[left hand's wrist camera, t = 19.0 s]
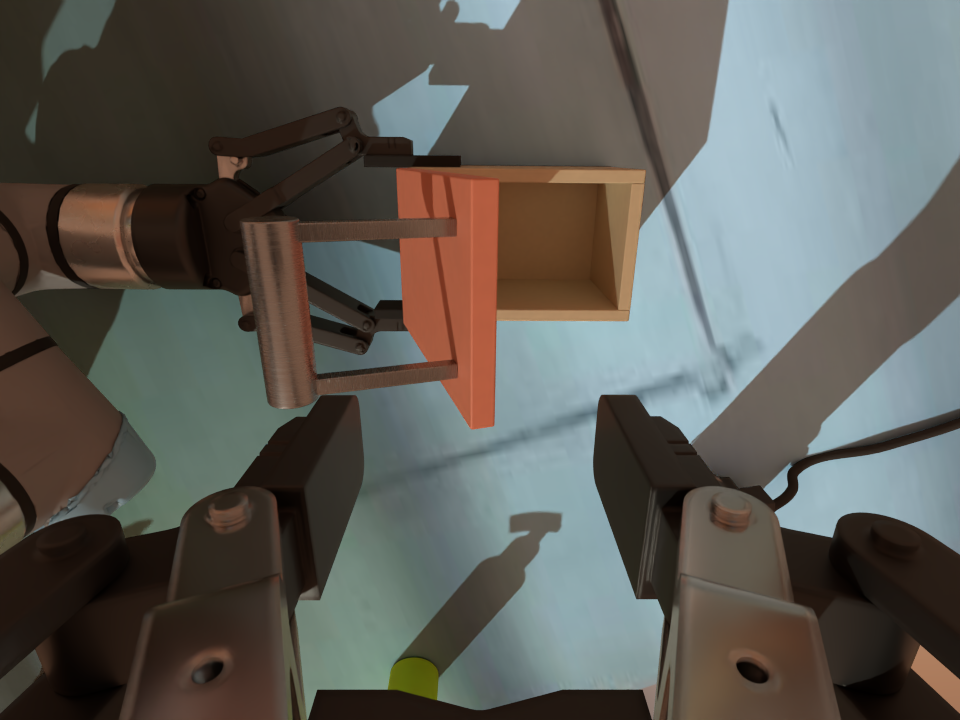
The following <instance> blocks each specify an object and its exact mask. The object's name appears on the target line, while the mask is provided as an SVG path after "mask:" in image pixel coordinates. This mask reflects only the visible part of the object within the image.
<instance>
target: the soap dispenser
mask: <svg viewBox="0 0 960 720" xmlns="http://www.w3.org/2000/svg"><path fill="white" fill-rule="evenodd" d="M438 677H439V674H438V670H437V668H436V667H435V666H434V665H433V664H432V663H431V662H429V661H427V660H425V659H422V658H406V659H403V660H401V661H399V662H397V663H396V664H395V665H394V666H393V667H392V669H391V673H390V679H389V685H388V690H400V691H404V692H408V693H411V694H415V695H419V696H423V697H427V698H430V699H434V700H437V692H438Z"/></svg>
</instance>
